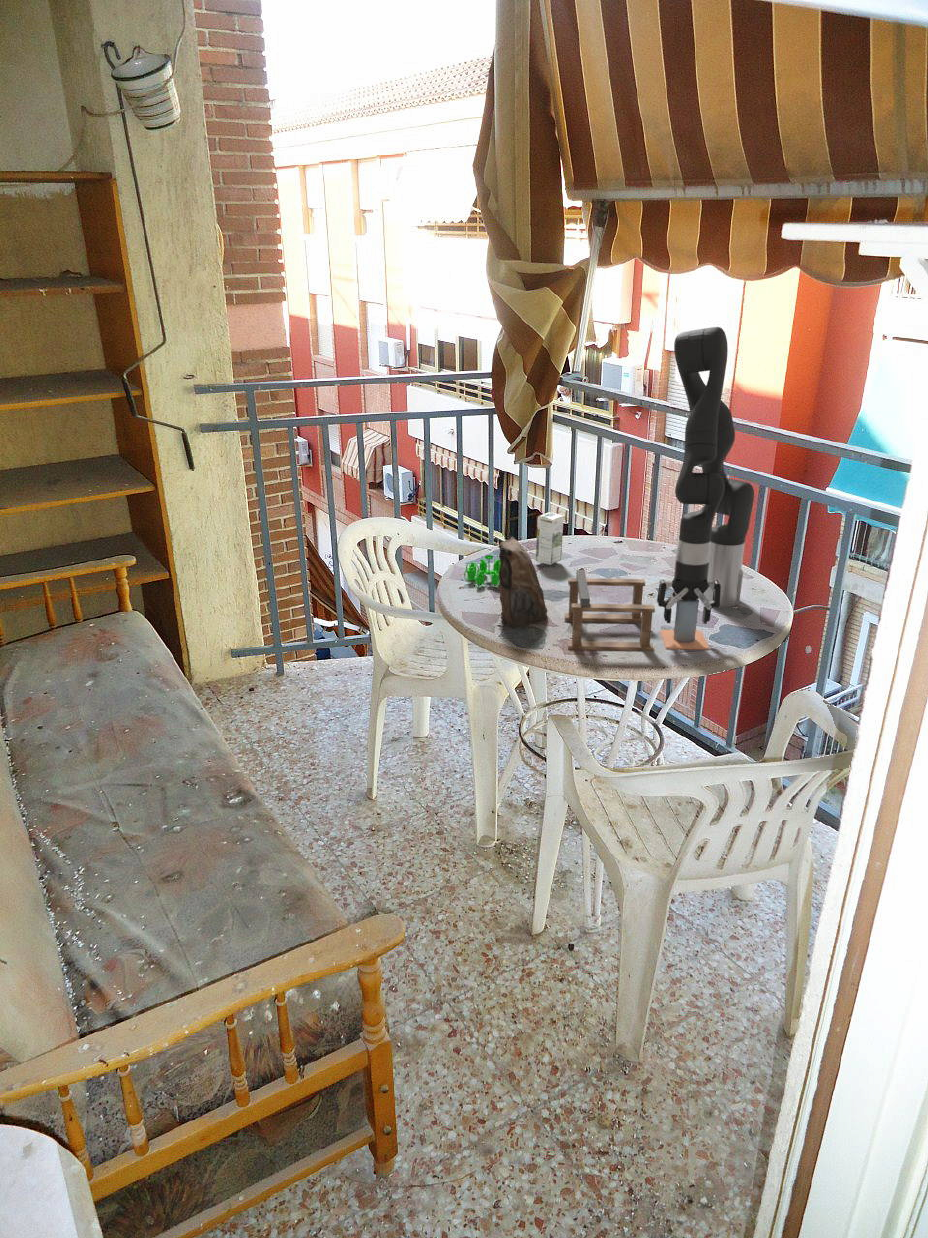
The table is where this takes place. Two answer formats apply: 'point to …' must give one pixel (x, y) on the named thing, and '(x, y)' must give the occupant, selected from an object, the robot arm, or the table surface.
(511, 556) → the brown pointed rock
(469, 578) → the chandelier
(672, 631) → the terracotta tile
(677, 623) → the grey-blue cylinder
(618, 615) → the gantry
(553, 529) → the syrup box
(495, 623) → the table surface
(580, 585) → the bar
